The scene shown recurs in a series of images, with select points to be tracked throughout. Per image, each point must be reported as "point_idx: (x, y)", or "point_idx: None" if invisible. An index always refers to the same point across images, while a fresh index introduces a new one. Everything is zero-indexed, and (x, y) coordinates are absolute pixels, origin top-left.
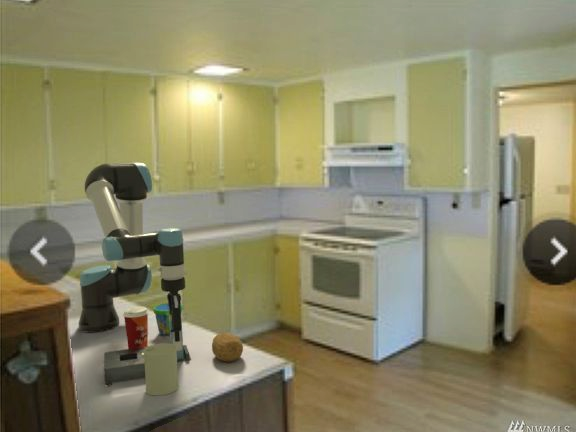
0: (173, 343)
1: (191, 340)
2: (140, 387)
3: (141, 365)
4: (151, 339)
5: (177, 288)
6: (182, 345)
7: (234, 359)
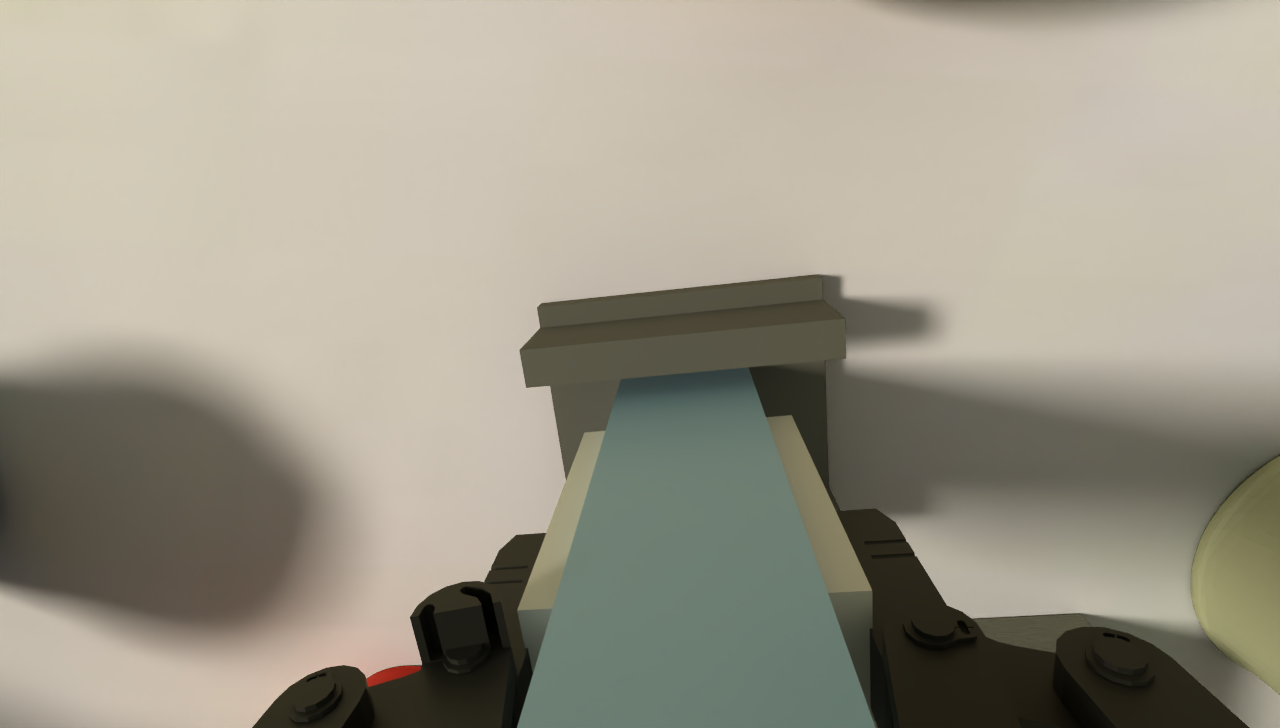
0: None
1: (141, 252)
2: None
3: None
4: (96, 632)
5: None
6: (767, 426)
7: None
